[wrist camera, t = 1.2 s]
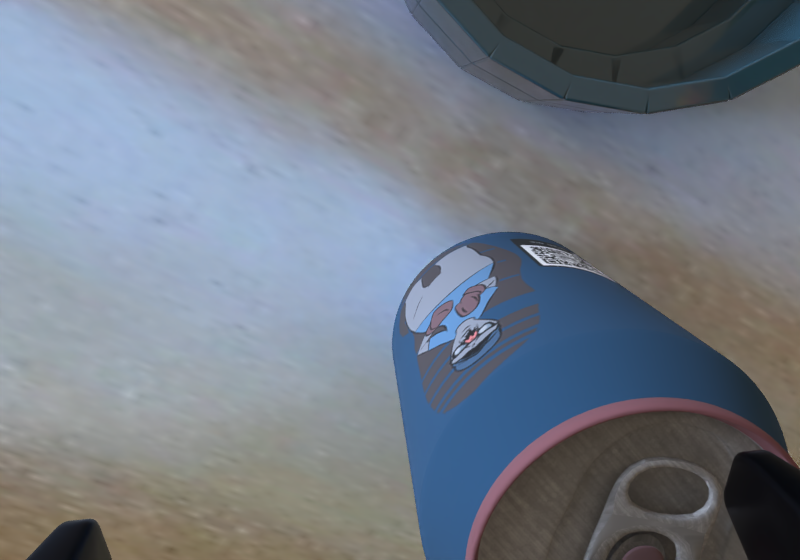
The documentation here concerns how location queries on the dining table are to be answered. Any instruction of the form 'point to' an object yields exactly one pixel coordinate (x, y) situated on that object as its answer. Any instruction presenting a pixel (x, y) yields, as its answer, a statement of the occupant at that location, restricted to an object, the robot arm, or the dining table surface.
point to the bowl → (617, 49)
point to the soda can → (565, 413)
